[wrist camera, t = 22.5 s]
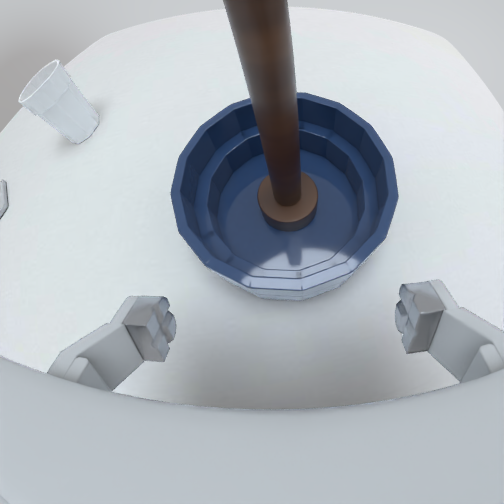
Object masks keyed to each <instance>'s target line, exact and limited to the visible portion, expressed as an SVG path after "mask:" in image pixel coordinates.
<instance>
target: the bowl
mask: <svg viewBox="0 0 504 504" xmlns="http://www.w3.org/2000/svg"><path fill="white" fill-rule="evenodd" d="M297 105H298V121H299V140H300V163H301V171H302V172H304V173H305V174H307V175H308V176H309V177H310V178H311V179H312V180H313V181H314V183H315V185H316V187H317V190H318V202H317V211H316V214H315V216H314V218H313V220H312V221H311V222H310V223H309V224H308V225H307V226H305V227H304V228H302V229H300V230H296V231H281V230H278V229H276V228H274V227H272V226H271V225H269V224H268V223H267V221H266V220H265V219H264V217H263V215H262V212H261V209H260V206H259V203H258V198H257V194H258V189H259V186H260V184H261V183H262V181H263V180H264V179H265V178H266V177H267V176H268V175H269V173H268V168H267V164H266V160H265V156H264V151H263V147H262V143H261V139H260V135H259V131H258V127H257V123H256V119H255V115H254V111H253V107H252V103H251V99H250V98H249V99H246V100H242V101H240V102H237V103H234V104H231V105H229V106H228V107H226V108H225V109H223V110H222V111H220V112H219V113H218V114H216V115H215V116H213V117H212V118H211V119H209V120H208V121H207V122H205V123H204V124H203V125H201V126H200V127H199V128H198V130H197V131H196V133H195V134H194V135H193V137H192V138H191V140H190V141H189V143H188V144H187V145H186V147H185V148H184V150H183V151H182V153H181V154H180V156H179V158H178V162H177V166H176V170H175V175H174V179H173V184H172V188H171V199H172V204H173V209H174V213H175V218H176V223H177V227H178V231H179V233H180V235H181V236H182V237H183V238H184V240H185V241H186V242H187V244H188V245H189V246H190V247H191V249H192V250H193V251H194V253H195V254H196V255H197V256H198V258H199V259H200V260H201V261H202V263H203V264H204V265H205V266H206V267H207V268H209V269H210V270H212V271H213V272H215V273H216V274H218V275H219V276H221V277H222V278H224V279H225V280H227V281H228V282H230V283H232V284H234V285H236V286H238V287H240V288H242V289H244V290H246V291H248V292H250V293H252V294H254V295H256V296H258V297H260V298H263V299H277V300H296V301H302V300H306V299H308V298H311V297H314V296H317V295H319V294H322V293H325V292H327V291H330V290H333V289H335V288H338V287H340V286H341V285H342V284H343V283H344V282H345V281H346V280H347V279H348V278H349V277H350V276H351V275H352V274H353V273H354V272H355V271H356V270H357V269H358V268H359V267H360V266H361V265H362V264H363V263H364V262H365V261H366V260H367V259H368V258H369V257H370V256H371V255H372V253H373V252H374V251H375V250H376V249H377V248H378V247H379V245H380V244H381V243H382V242H383V241H384V240H385V238H386V236H387V233H388V230H389V227H390V224H391V221H392V218H393V215H394V212H395V208H396V205H397V202H398V197H399V196H398V188H397V181H396V175H395V169H394V163H393V158H392V156H391V154H390V153H389V151H388V150H387V148H386V146H385V145H384V143H383V142H382V140H381V139H380V137H379V136H378V134H377V133H376V131H375V130H374V128H373V127H372V126H371V125H370V124H369V123H367V122H366V121H365V120H363V119H362V118H361V117H359V116H358V115H357V114H355V113H354V112H352V111H351V110H349V109H348V108H347V107H345V106H344V105H342V104H340V103H338V102H335V101H332V100H329V99H325V98H322V97H319V96H315V95H312V94H308V93H297Z"/></svg>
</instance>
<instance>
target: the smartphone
mask: <svg viewBox="0 0 504 504" xmlns="http://www.w3.org/2000/svg"><path fill="white" fill-rule="evenodd" d="M7 207H8V203H7V192H6V181H4V180H2V181H1V182H0V218H1V216H2V215H3V213H4V212H5V210H6V209H7Z"/></svg>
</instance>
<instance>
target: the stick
mask: <svg viewBox="0 0 504 504" xmlns="http://www.w3.org/2000/svg"><path fill="white" fill-rule="evenodd" d="M223 2H224V5H225V9H226V12H227V15H228V19H229V22H230V26H231V29H232V33H233V36H234V40H235V43H236V47H237V50H238V54H239V58H240V61H241V65H242V69H243V72H244V76H245V80H246V84H247V87H248V91H249V95H250V99H251V103H252V107H253V111H254V115H255V119H256V123H257V127H258V131H259V135H260V139H261V143H262V147H263V151H264V156H265V160H266V164H267V168H268V173H269V175H268V176H267V177H266V178H265V179H264V180H263V181H262V183H261V184H260V186H259V189H258V194H257V198H258V203H259V206H260V209H261V212H262V215H263V217H264V219H265V220H266V221H267V223H268V224H269V225H271V226H272V227H274V228H276V229H278V230H281V231H296V230H300V229H302V228H304V227H305V226H307V225H308V224H309V223H310V222H311V221H312V220H313V218H314V216H315V214H316V211H317V202H318V190H317V187H316V185H315V183H314V181H313V180H312V179H311V178H310V177H309V176H308V175H307V174H305V173H304V172H302V171H301V163H300V140H299V121H298V105H297V91H296V79H295V67H294V56H293V46H292V36H291V27H290V19H289V11H288V3H287V0H223Z"/></svg>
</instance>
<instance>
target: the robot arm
mask: <svg viewBox="0 0 504 504" xmlns="http://www.w3.org/2000/svg"><path fill="white" fill-rule="evenodd" d="M399 296H400V298H401V300H400V301H399V302H398V303H397V304H396V310H395V322H396V326H397V329H398V331H399V332H401V333H402V334H403V336H402V343H403V345H404V348H405V351H406V354H410V353H417V352H423V351H428V352H429V353H430V354H431V355H432V356H433V357H434V358H435V359H436V360H437V361H438V362H439V363H440V364H442V365H443V366H444V367H445V368H446V369H447V370H448V371H449V372H450V373H451V374H452V375H453V376H454V377H455V378H456V379H457V380H459V381H460V383H459V384H456V385H453V386H449V387H446V388H442V389H438V390H434V391H430V392H425V393H421V394H416V395H411V396H406V397H401V398H396V399H390V400H384V401H378V402H371V403H364V404H356V405H347V406H338V407H326V408H311V409H281V410H262V409H232V408H216V407H204V406H194V405H185V404H177V403H170V402H163V401H156V400H150V399H144V398H139V397H134V396H128V395H124V394H119V393H114V392H112V391H113V390H114V389H115V388H116V387H117V386H118V385H119V384H120V383H121V382H122V381H124V380H125V379H126V378H127V377H128V376H129V375H130V374H131V373H132V372H133V371H134V370H136V369H137V368H138V367H139V366H140V365H141V364H142V363H143V362H144V361H157V362H164V361H165V359H166V357H167V354H168V352H169V349H170V348H169V345H168V343H170V342H171V341H172V340H174V337H175V334H176V320H175V318H174V315H173V314H172V313H171V312H169V311H168V309H169V307H170V304H169V302H168V300H167V298H166V297H164V296H129V297H127V298H126V300H125V301H124V302H123V304H122V305H121V307H120V308H119V310H118V311H117V313H116V314H115V316H114V317H113V319H112V320H111V322H110V323H106V324H104V325H102V326H101V327H99V328H98V329H96V330H94V331H93V332H91V333H90V334H88V335H86V336H85V337H83V338H82V339H80V340H79V341H77V342H75V343H74V344H72V345H71V346H69V347H67V348H66V349H64V350H63V351H61V352H60V354H59V355H58V357H57V358H56V360H55V361H54V363H53V364H52V366H51V367H50V369H49V370H48V372H47V373H44V372H41V371H38V370H35V369H33V368H30V367H27V366H25V365H22V364H20V363H17V362H15V361H12V360H10V359H8V358H5V357H3V356H1V355H0V504H504V331H502V330H500V329H499V328H497V327H495V326H494V325H492V324H491V323H489V322H487V321H486V320H484V319H482V318H480V317H479V316H477V315H475V314H474V313H472V312H470V311H469V310H467V309H465V308H463V307H461V308H459V306H458V305H457V303H456V302H455V300H454V298H453V297H452V295H451V294H450V292H449V291H448V289H447V288H446V286H445V285H444V283H443V282H442V281H441V280H439V279H437V280H431V281H427V282H419V283H410V284H402V285H401V287H400V290H399Z"/></svg>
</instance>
